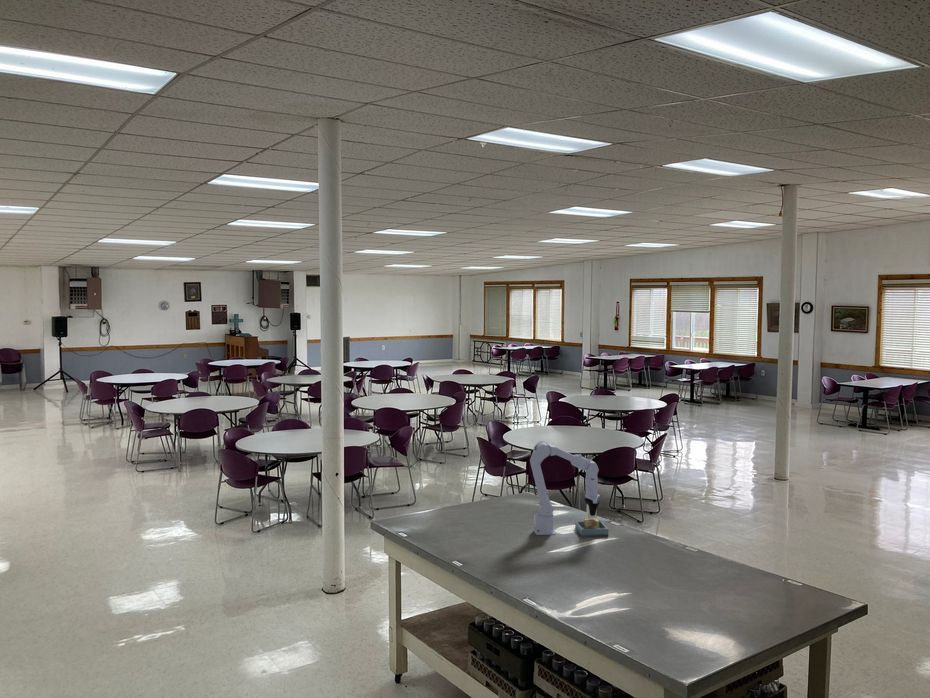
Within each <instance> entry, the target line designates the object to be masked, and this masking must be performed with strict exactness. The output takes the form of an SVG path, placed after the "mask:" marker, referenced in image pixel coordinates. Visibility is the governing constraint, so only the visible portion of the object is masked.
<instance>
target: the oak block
mask: <svg viewBox="0 0 930 698" xmlns="http://www.w3.org/2000/svg"><path fill="white" fill-rule="evenodd" d="M583 521H584V529H599V521H600V520H599V519H598V517H597V518H588V517H587V518H584V520H583Z"/></svg>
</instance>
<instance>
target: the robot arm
mask: <svg viewBox="0 0 930 698" xmlns="http://www.w3.org/2000/svg"><path fill="white" fill-rule="evenodd" d="M549 456H550V457H553V456H557V457H560V458H563V459H565V460H567V461H569V462H570V463H571V466H574V467H575V468H578V469H579V470H581V471H585V494H584V496H585V497H583V499H584V502H585V505H586V506H587V504H588V505H589V510H590V515H591V516H595V514H596V509H598V507H599V504H600V501H599V500H598V498H601V495H600V494H599V493H598V488H599V487H598V485H599V484H598V483H599V482H598V481H599V480H598V473H599V471H600V469H599V467H598V464H597V463H596V462H595V461H593V460H591V459H590V458H586V457H584V456H583V455H582V454H581V453H579V454H572V453H569V452H567V451H566V450H564V449H562V448H560V447H558V446H557V445H554V444H552V443H550V442H546V441H543V440H541V441H539V442H537V443H536V444H535V446H534V447H533V451H532V454H531V456H530V458H529V463H530V467H531V471H532V477H533V480H534V482H535V487H536V491H537V492H536V493H537V497H538V500H539V502H538V507H539V511H538V514H534V515H533V532H534V534H535V535H536V536H551V535H553V536H554V535H557V534H556V532H555V530H554V506H553V504H552V501H551V500H550V499H549V495H548V490H547V486H546V483H545V479H544V474H543V470H542V467H541V464H542V462H543V461H544V460H545V459H546V458H547V457H549Z"/></svg>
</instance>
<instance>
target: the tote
mask: <svg viewBox="0 0 930 698" xmlns="http://www.w3.org/2000/svg"><path fill="white" fill-rule="evenodd" d="M598 521H599V529H584V520H577V521H575V522H574V525H575V526H574V527H575V528H574V529H575V530H576V532H578V533H577V534H578V535H580V537H581V538H588V537H589V538H592V537H593V538H595V537H609V528H608V527H607V526H606V524H605V523H604V522H603V521H602V520H598Z"/></svg>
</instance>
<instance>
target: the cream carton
mask: <svg viewBox="0 0 930 698" xmlns="http://www.w3.org/2000/svg"><path fill="white" fill-rule="evenodd" d="M597 509H598V508H597ZM597 509H596V514H595V516H591V515H590V510H589V505H588V504H587V505H586V517H587V518H597V519H598V515H597V514H598V512H597Z"/></svg>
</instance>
